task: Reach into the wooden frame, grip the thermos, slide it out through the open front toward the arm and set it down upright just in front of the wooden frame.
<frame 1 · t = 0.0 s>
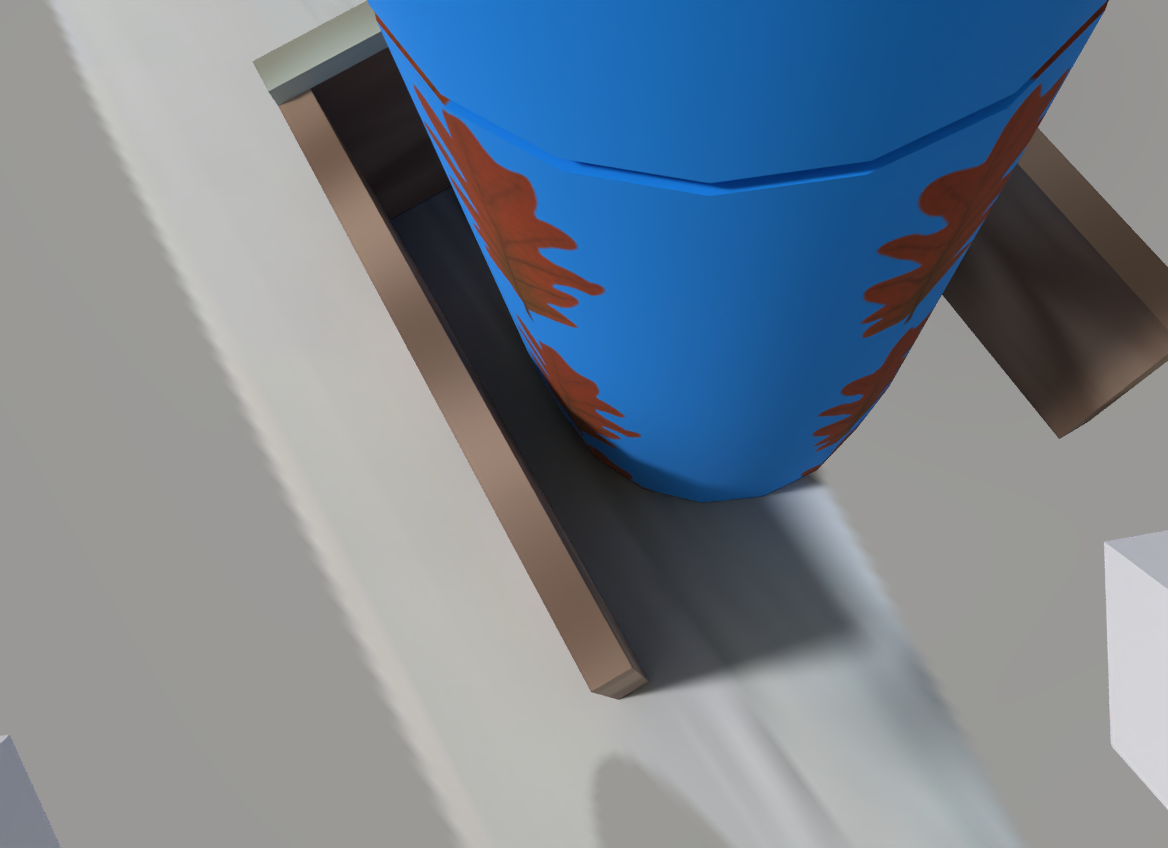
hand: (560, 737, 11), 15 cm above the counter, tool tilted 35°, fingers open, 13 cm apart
thermos: (710, 346, 29), on the counter
wooden frame: (710, 343, 28), on the counter
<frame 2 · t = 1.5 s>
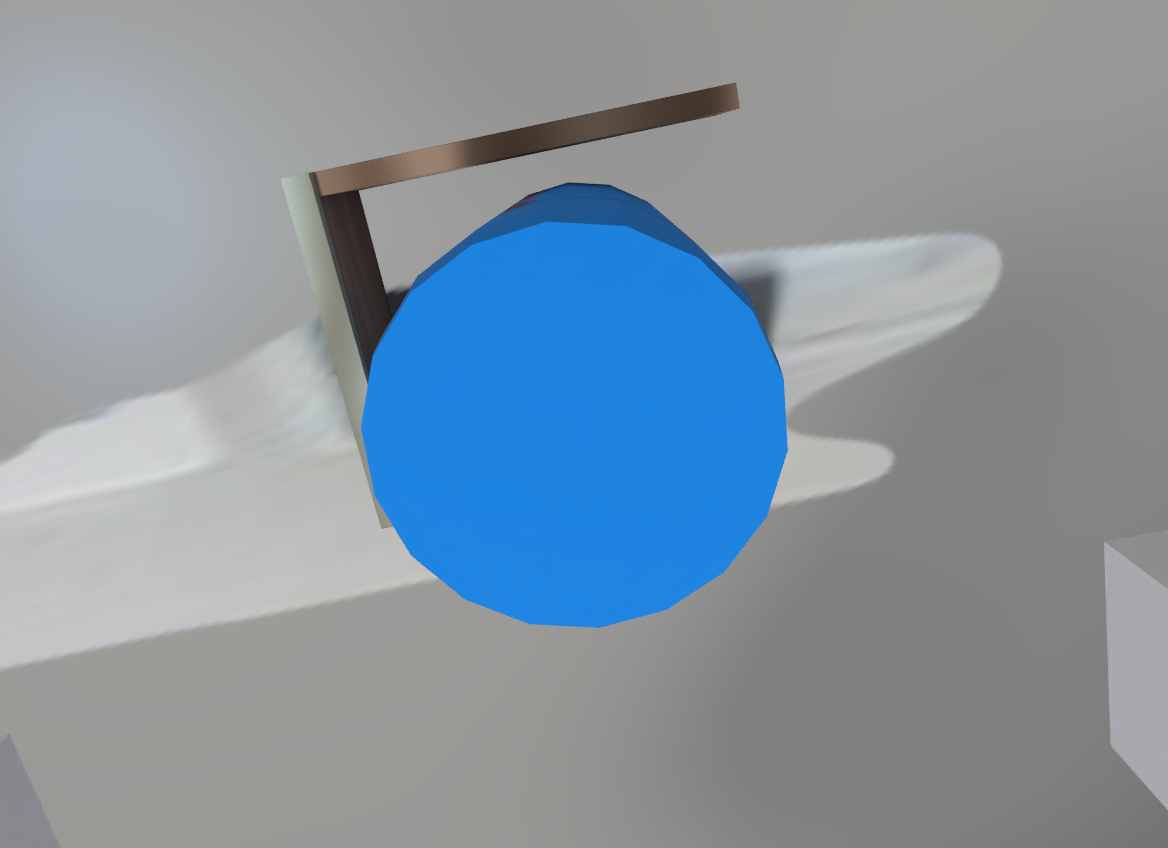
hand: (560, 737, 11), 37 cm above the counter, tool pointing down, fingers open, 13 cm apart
thermos: (583, 288, 46), on the counter
wooden frame: (583, 289, 46), on the counter
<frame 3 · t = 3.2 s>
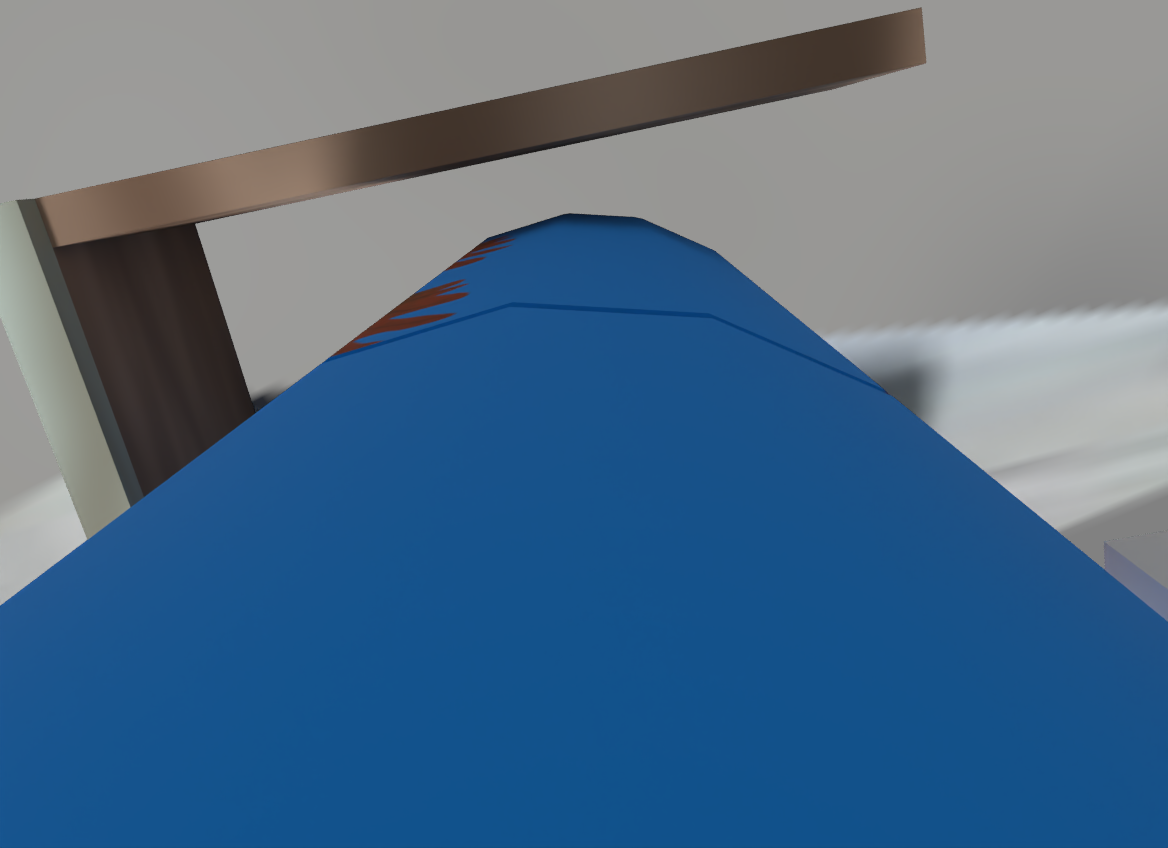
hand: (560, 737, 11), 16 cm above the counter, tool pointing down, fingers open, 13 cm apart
thermos: (591, 391, 27), on the counter
wooden frame: (591, 393, 26), on the counter
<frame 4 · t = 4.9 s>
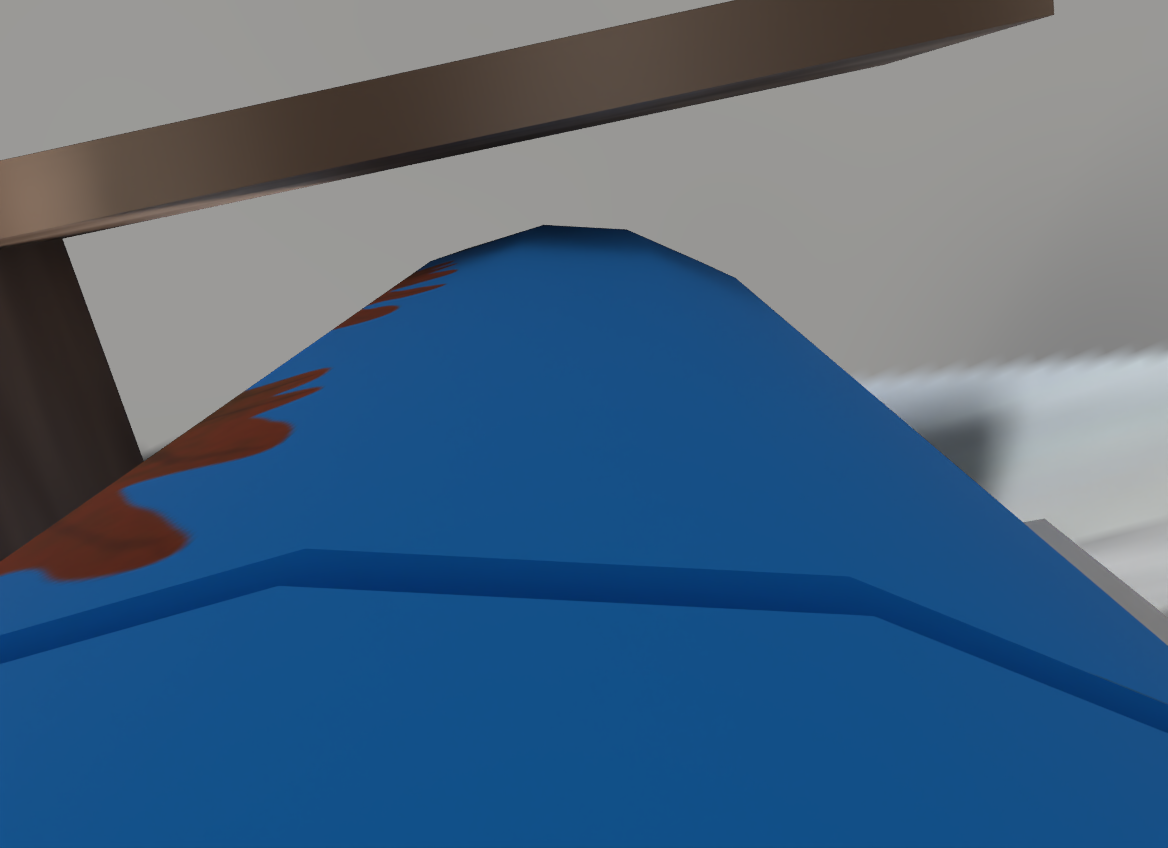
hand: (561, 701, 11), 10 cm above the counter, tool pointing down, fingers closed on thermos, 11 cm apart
thermos: (573, 447, 21), on the counter, touching gripper
wooden frame: (573, 450, 21), on the counter
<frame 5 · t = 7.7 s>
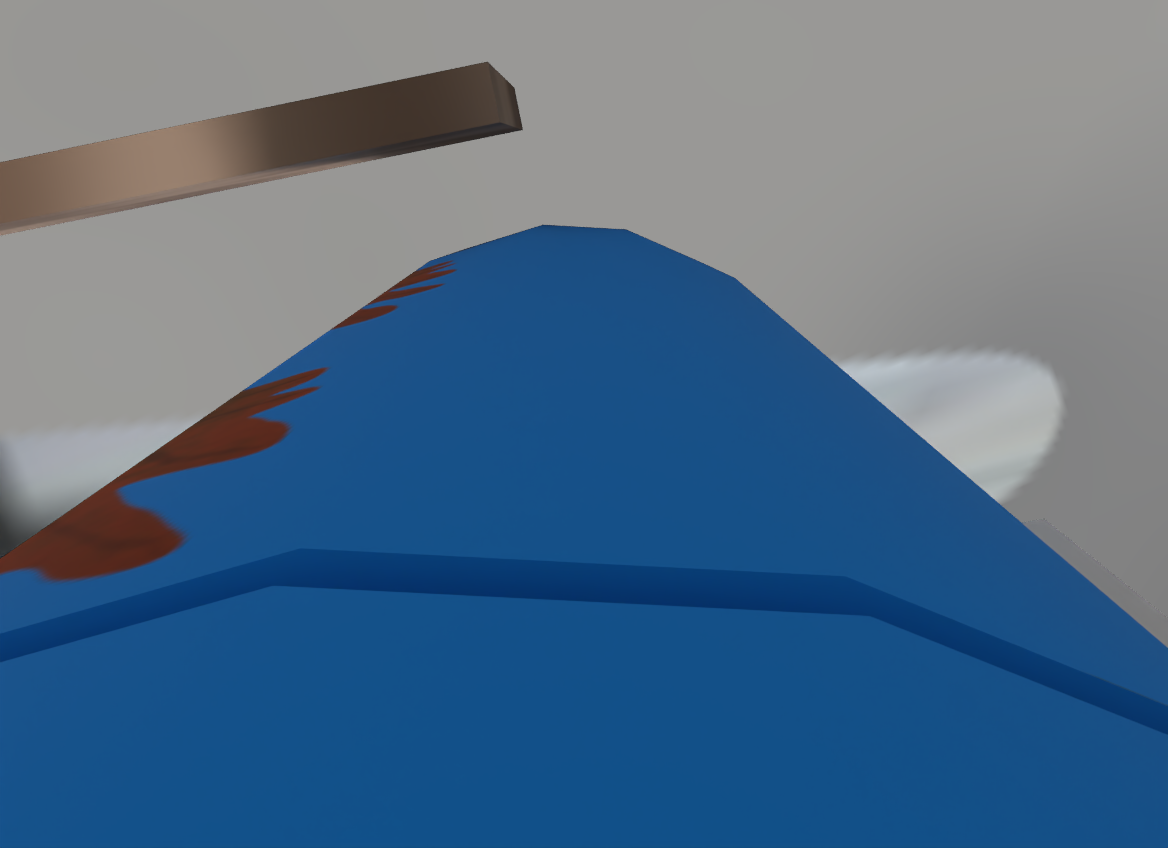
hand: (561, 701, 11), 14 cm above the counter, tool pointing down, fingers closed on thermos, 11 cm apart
thermos: (572, 447, 21), point 3 cm above the counter, touching gripper
wooden frame: (292, 448, 25), on the counter
when the fingers open (11 cm above the counter, at t = 10.9 s): thermos stays where it is, on the counter.
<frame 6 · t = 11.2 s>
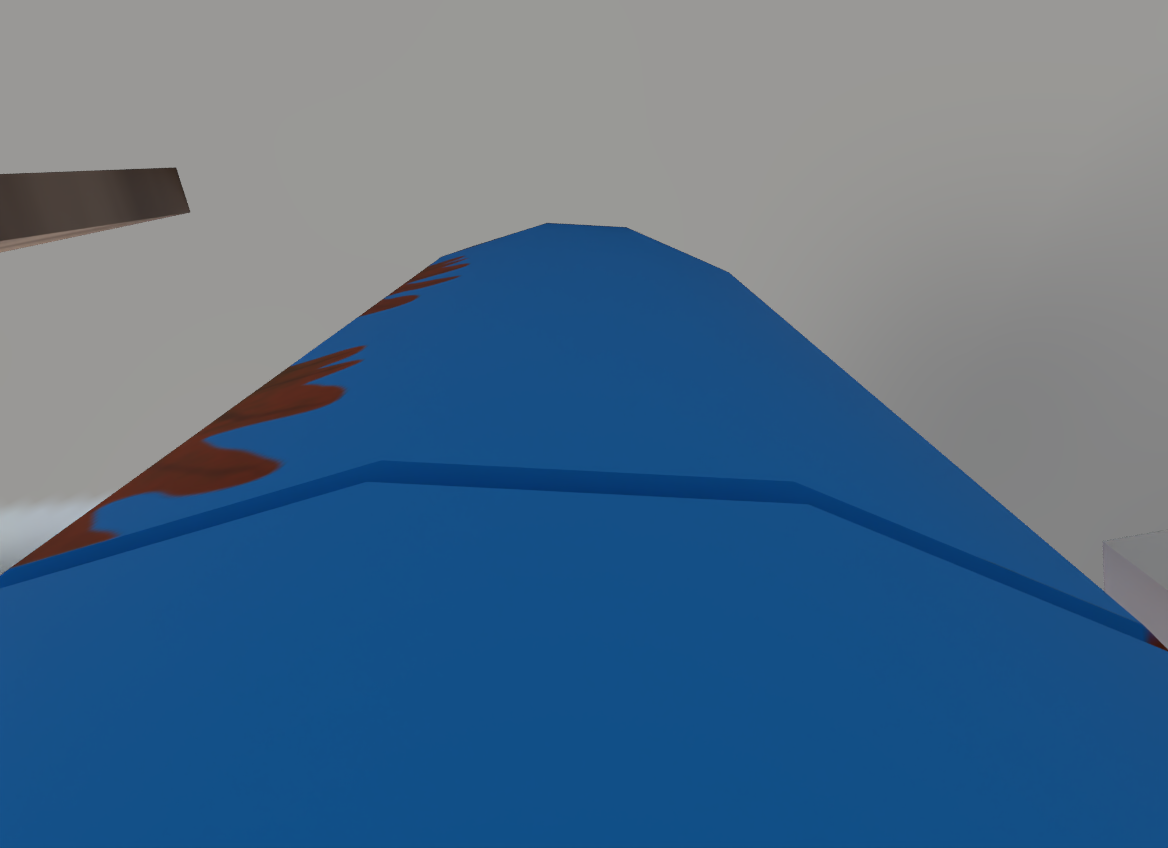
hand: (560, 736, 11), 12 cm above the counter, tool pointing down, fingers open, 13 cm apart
thermos: (575, 436, 22), on the counter
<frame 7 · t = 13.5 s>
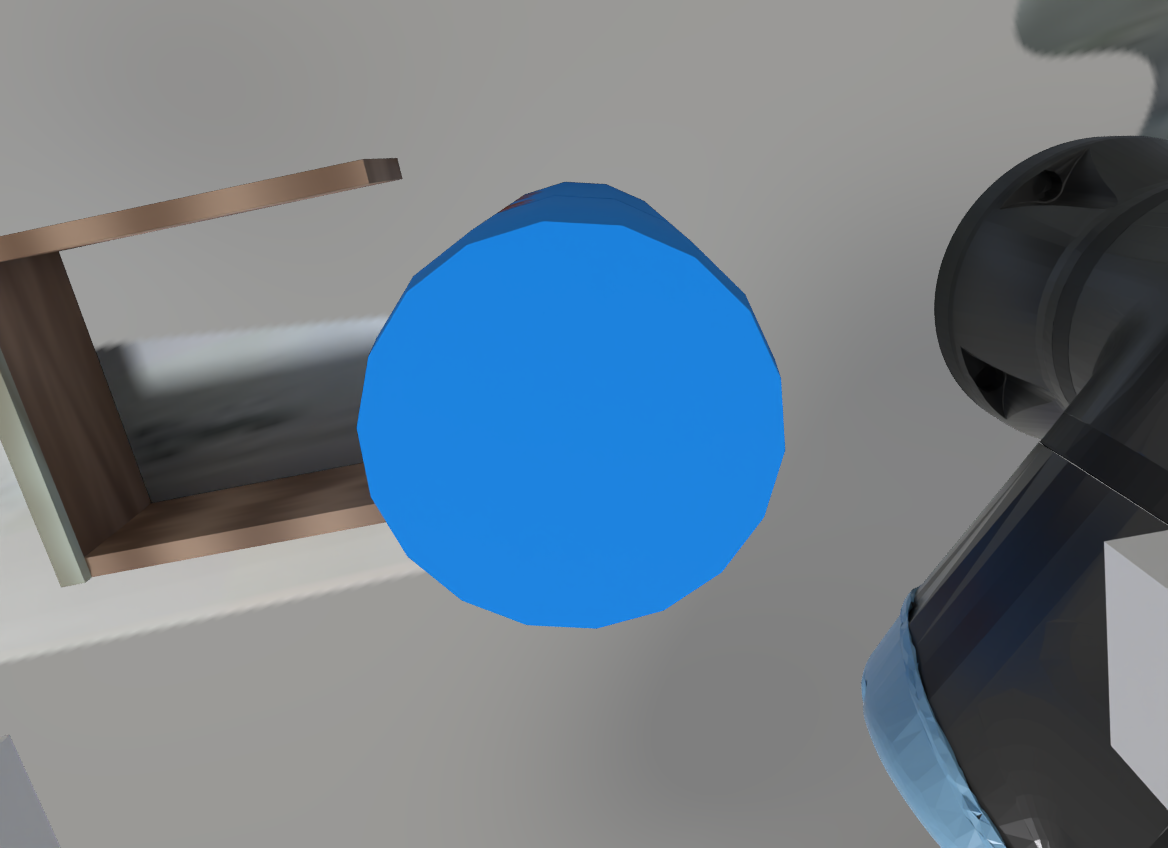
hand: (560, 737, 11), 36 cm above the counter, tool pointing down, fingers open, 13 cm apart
thermos: (579, 288, 46), on the counter
wooden frame: (288, 346, 46), on the counter
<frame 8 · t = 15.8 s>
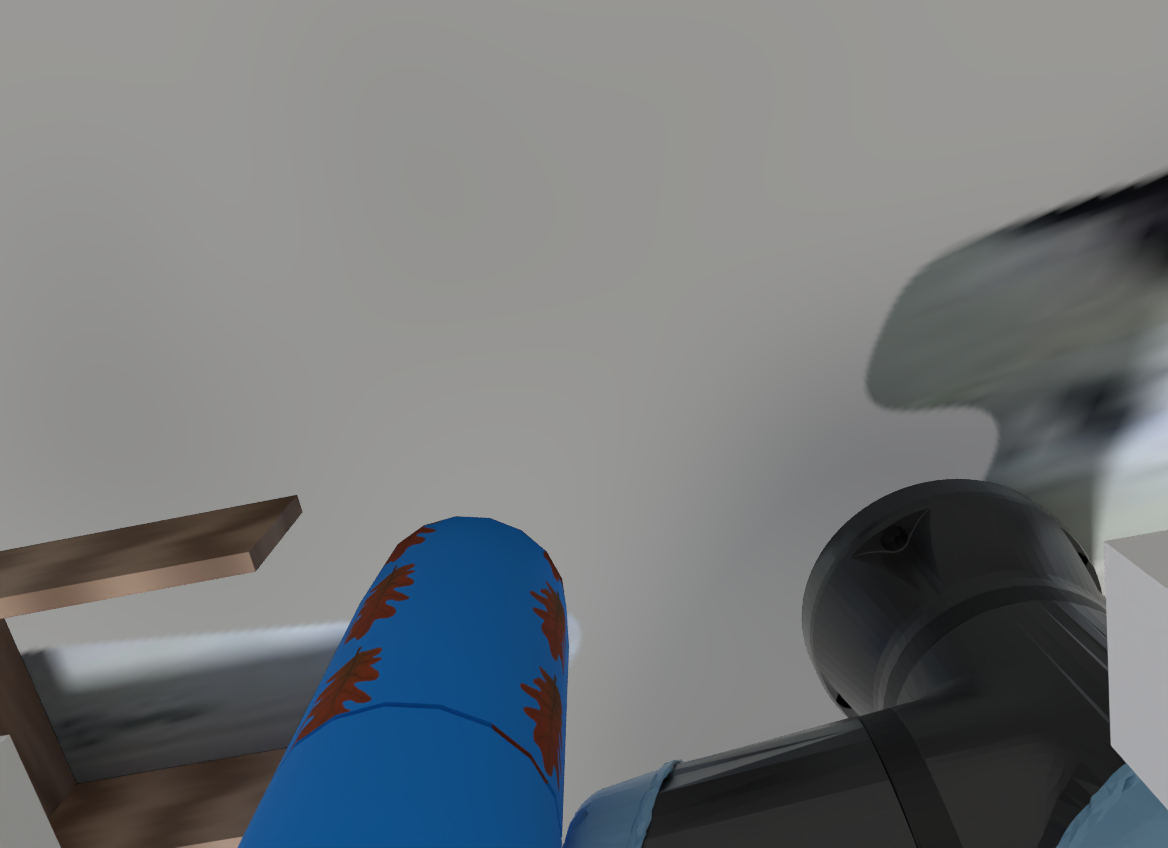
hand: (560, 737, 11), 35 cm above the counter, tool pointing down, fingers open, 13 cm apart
thermos: (471, 602, 49), on the counter
wooden frame: (200, 651, 50), on the counter
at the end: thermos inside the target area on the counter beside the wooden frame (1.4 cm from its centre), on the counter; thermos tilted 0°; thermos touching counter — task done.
